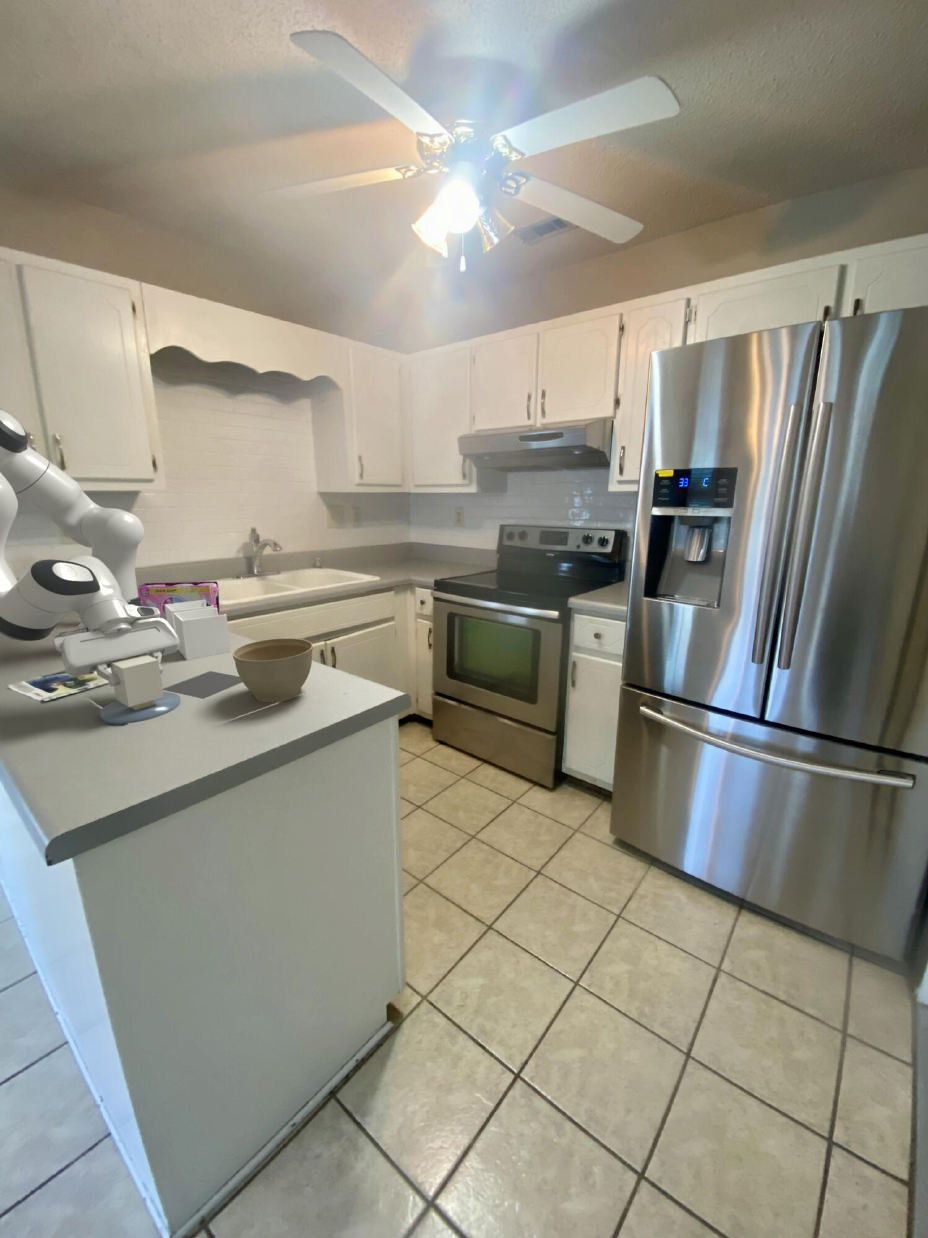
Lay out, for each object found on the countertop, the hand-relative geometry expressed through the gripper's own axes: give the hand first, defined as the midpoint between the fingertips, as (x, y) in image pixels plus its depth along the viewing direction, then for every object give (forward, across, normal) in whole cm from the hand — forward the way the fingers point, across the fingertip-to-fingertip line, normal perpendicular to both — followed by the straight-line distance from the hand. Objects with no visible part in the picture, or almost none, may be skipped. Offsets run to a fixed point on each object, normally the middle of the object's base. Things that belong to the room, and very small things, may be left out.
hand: (138, 678), depth 102 cm
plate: (+4, 0, +5) cm, 7 cm away
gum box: (-42, +38, +53) cm, 78 cm away
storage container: (-20, +29, +31) cm, 47 cm away
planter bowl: (+15, +21, -5) cm, 27 cm away
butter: (+4, 0, +5) cm, 7 cm away
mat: (+3, +15, +7) cm, 17 cm away
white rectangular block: (+3, 0, +4) cm, 4 cm away
